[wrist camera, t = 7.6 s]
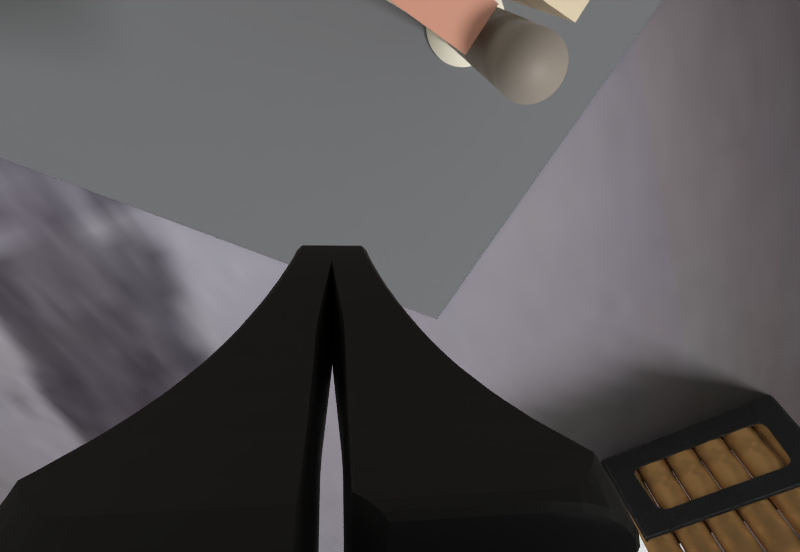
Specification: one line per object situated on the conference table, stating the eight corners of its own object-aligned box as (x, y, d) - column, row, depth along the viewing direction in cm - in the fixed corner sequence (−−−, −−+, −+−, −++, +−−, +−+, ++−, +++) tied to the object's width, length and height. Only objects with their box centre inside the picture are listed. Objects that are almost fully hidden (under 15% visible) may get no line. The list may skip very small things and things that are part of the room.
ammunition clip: (606, 475, 33) (726, 710, 23) (599, 461, 32) (722, 699, 22) (773, 412, 31) (982, 637, 21) (771, 395, 30) (991, 622, 20)
